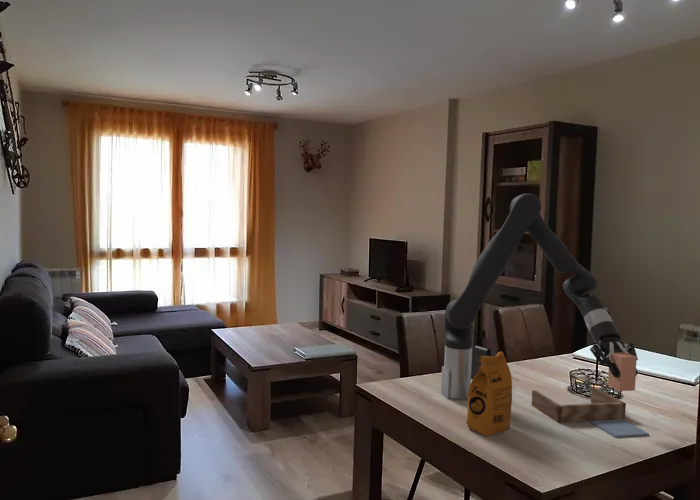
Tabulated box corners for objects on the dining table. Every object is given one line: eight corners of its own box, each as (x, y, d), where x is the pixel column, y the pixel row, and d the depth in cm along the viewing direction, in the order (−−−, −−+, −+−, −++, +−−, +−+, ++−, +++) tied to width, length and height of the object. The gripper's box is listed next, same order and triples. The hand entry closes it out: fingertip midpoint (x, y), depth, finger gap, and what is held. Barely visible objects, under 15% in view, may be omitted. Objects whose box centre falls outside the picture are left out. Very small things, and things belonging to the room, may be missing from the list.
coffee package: (460, 426, 153) (463, 353, 151) (488, 418, 160) (491, 347, 159) (487, 439, 145) (491, 361, 143) (515, 429, 152) (519, 355, 150)
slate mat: (615, 437, 148) (615, 435, 148) (590, 422, 158) (590, 420, 158) (648, 435, 150) (648, 433, 150) (621, 420, 161) (621, 418, 161)
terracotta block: (619, 391, 150) (621, 357, 150) (608, 385, 155) (609, 352, 155) (634, 390, 151) (636, 356, 151) (622, 384, 156) (624, 352, 156)
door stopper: (483, 373, 206) (484, 344, 205) (495, 378, 201) (496, 347, 201) (467, 377, 201) (468, 346, 200) (479, 381, 196) (480, 350, 195)
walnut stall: (557, 422, 158) (558, 406, 157) (531, 405, 172) (532, 390, 172) (624, 418, 162) (625, 403, 162) (593, 402, 177) (594, 387, 176)
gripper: (586, 320, 158) (611, 370, 147) (627, 319, 161) (655, 369, 150) (575, 333, 164) (598, 383, 153) (615, 332, 166) (640, 381, 155)
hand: (626, 375), depth 151 cm, fingers closed on terracotta block, 5 cm apart
